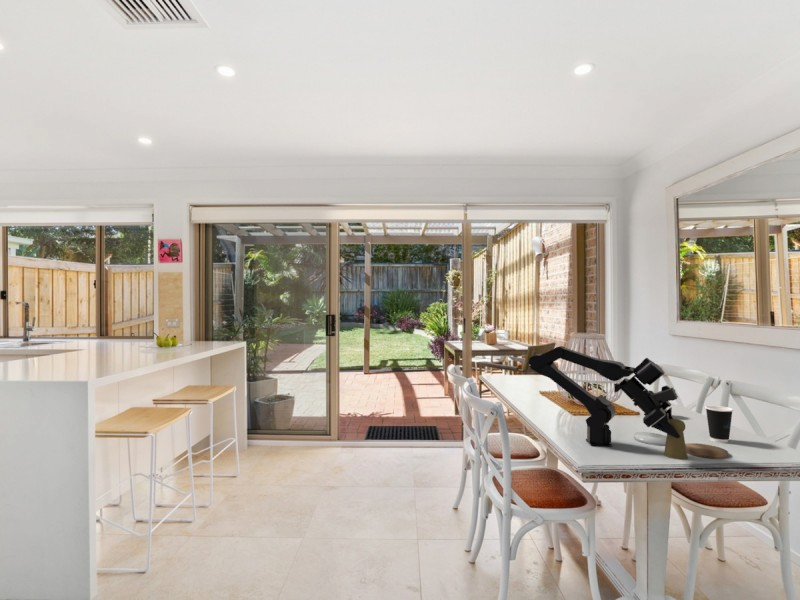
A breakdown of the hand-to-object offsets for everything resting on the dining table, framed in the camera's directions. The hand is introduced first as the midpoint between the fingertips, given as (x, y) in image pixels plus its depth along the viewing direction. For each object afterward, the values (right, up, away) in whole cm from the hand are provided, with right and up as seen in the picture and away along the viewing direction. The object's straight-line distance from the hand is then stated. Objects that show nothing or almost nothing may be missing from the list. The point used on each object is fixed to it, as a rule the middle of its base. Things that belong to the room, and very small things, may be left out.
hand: (680, 435), depth 138 cm
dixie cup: (+24, -7, +17) cm, 30 cm away
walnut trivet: (+10, -7, +4) cm, 13 cm away
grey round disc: (+2, -7, +17) cm, 19 cm away
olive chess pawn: (-1, -7, +1) cm, 7 cm away
